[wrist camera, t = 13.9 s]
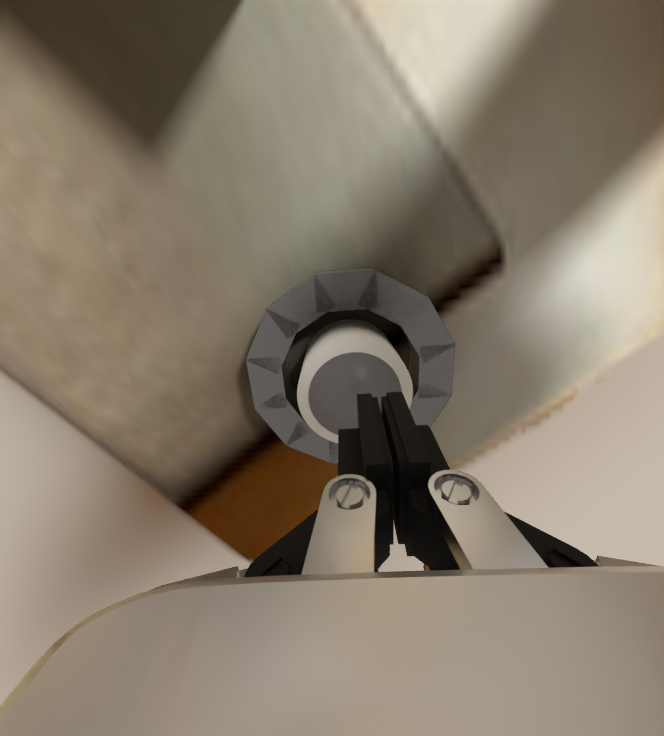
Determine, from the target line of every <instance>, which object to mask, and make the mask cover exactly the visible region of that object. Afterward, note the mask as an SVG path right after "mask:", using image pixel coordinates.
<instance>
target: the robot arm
mask: <svg viewBox="0 0 664 736" xmlns="http://www.w3.org/2000/svg"><path fill="white" fill-rule="evenodd" d="M357 411H358V428H352V429H338V476H337V477H336V478H334V479H332V480H331V481H330V482H329V483H328V484H327V485H326V486H325V488H324V490H323V494H322V498H321V502H320V505H319V509H318V510H317V511H315V512H314V513H313V514H312V515H310V516H309V517H308V518H307V519H305V520H304V521H303V522H301V523H300V524H299V525H298V526H296V527H295V528H294V529H293V530H291V531H290V532H289V533H288V534H286V535H285V536H284V537H283V538H281V539H280V540H279V541H278V542H276V543H275V544H274V545H273V546H271V547H270V548H269V549H267V550H266V551H265V552H264V553H262V554H261V555H260V556H259V557H257V558H256V559H255V560H254V561H253V562H252V563H251V565H250V566H249V568H248V569H244V570H240V571H239V570H238V567H237V566H236V567H232V568H229V569H225V570H221V571H217V572H213V573H209V574H205V575H202V576H197V577H194V578H190V579H185V580H182V581H178V582H174V583H170V584H166V585H162V586H160V587H157V588H155V589H152V590H150V591H147V592H144V593H140V594H138V595H135V596H133V597H130V598H128V599H125V600H123V601H120V602H118V603H115V604H113V605H111V606H109V607H107V608H105V609H103V610H101V611H99V612H97V613H95V614H94V615H92V616H90V617H88V618H87V619H85V620H83V621H82V622H80V623H79V624H77V625H76V626H75V627H73V628H72V629H71V630H69V631H68V632H67V633H66V634H64V635H63V636H62V637H61V638H60V639H59V640H58V641H57V642H55V643H54V645H52V646H51V647H50V648H49V649H48V651H47V652H46V653H45V654H44V655H43V656H42V657H41V658H40V659H39V660H38V661H37V662H36V663H35V664H34V666H33V667H32V668H31V669H30V670H29V671H28V672H27V673H26V675H25V676H24V677H23V678H22V680H21V681H20V682H19V683H18V685H17V686H16V687H15V688H14V689H13V691H12V692H11V693H10V694H9V696H8V697H7V698H6V699H5V700H4V702H3V703H2V704H1V705H0V736H664V566H655V565H650V564H644V563H638V562H632V561H626V560H620V559H614V558H608V557H602V556H597V558H596V561H594V560H592V559H591V558H589V557H588V556H587V555H586V554H584V553H583V552H581V551H579V550H578V549H576V548H574V547H572V546H570V545H569V544H566V543H565V542H563V541H561V540H559V539H557V538H555V537H553V536H551V535H549V534H547V533H545V532H543V531H541V530H539V529H537V528H535V527H533V526H531V525H529V524H527V523H525V522H524V521H522V520H520V519H518V518H515V517H514V516H512V515H510V514H508V513H506V512H504V511H503V510H502V509H501V507H500V506H499V505H498V504H497V502H496V501H495V500H494V499H493V497H492V496H491V495H490V494H489V493H488V491H487V490H486V489H485V488H484V486H483V485H482V484H481V483H480V482H479V481H478V480H477V479H476V478H474V477H472V476H471V475H469V474H467V473H464V472H461V471H456V470H450V468H449V466H448V464H447V462H446V460H445V458H444V456H443V454H442V452H441V450H440V448H439V446H438V444H437V441H436V439H435V437H434V435H433V433H432V431H431V429H430V427H429V426H428V425H416V424H415V422H414V419H413V417H412V415H411V412H410V410H409V407H408V405H407V402H406V400H405V398H404V395H403V393H402V392H387V395H386V396H382V397H381V410H380V406H379V402H378V398H377V397H372V394H371V393H368V394H357ZM393 519H394V524H395V529H396V535H397V539H398V543H399V544H405V547H406V552H407V556H415V557H416V558H418V559H419V560H420V561H422V562H423V563H424V571H404V572H403V571H402V572H378V568H379V567H380V566H381V565H382V563H383V562H384V561H385V560H386V559H387V558H388V557H389V555H390V544H393Z"/></svg>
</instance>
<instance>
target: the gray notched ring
mask: <svg viewBox="0 0 664 736" xmlns="http://www.w3.org/2000/svg"><path fill="white" fill-rule="evenodd" d="M360 309H368V310H370V311H372V312H374V313H376V314H378V315H380V316H382V317H384V318H386V319H388V320H390V321H392V322H394V323H396V324H397V325H398V327H399V328H400V330H401V331H402V333H403V335H404V336H405V338H406V340H407V341H408V343H409V374H410V377H411V380H412V385H413V397H412V403H411V406H410V409H409V410H410V412H411V415H412V417H413V419H414V422H415V424H416V425H428V426H429V427H431V425H432V424H433V422H434V421H435V419H436V418H437V416H438V415H439V413H440V412H441V410H442V409H443V408H444V406H445V405H446V403H447V402H448V400H449V399H450V397H451V396H452V382H453V367H454V352H455V343H454V342H453V340H452V338H451V337H450V335H449V333H448V331H447V329H446V328H445V326H444V324H443V322H442V320H441V319H440V317H439V315H438V313H437V312H436V310H435V308H434V306H433V304H432V303H431V301H430V299H429V297H428V296H426V295H424V294H422V293H420V292H418V291H416V290H414V289H412V288H410V287H408V286H406V285H404V284H402V283H400V282H398V281H396V280H394V279H393V278H391V277H389V276H387V275H385V274H383V273H381V272H379V271H377V270H376V269H373V268H370V267H369V268H358V269H345V270H332V271H320V272H315V273H314V274H313V275H311V276H310V277H308V278H307V279H306V280H304V281H303V282H302V283H300V284H299V285H297V286H296V287H295V288H293V289H292V290H290V291H289V292H288V293H286V294H285V295H283V296H282V297H281V298H279V299H278V300H277V301H275V302H273V303H272V304H271V305H270V306H269V307H268V308H267V309H266V311H265V313H264V316H263V318H262V321H261V323H260V326H259V328H258V331H257V333H256V336H255V338H254V341H253V343H252V345H251V348H250V350H249V353H248V355H247V358H246V364H247V369H248V375H249V380H250V386H251V391H252V397H253V402H254V409H255V410H256V411H257V412H258V413H259V415H260V416H261V417H262V418H263V419H264V420H265V422H266V423H267V424H268V425H269V426H270V427H271V428H272V430H273V431H274V432H275V433H276V434H277V435H278V437H279V438H280V439H281V440H282V441H283V442H284V443H285V445H286V446H288V447H291V448H293V449H296V450H298V451H301V452H303V453H306V454H308V455H311V456H313V457H316V458H319V459H321V460H324V461H326V462H329V463H331V464H334V463H338V443H335V442H332V441H329V440H327V439H325V438H323V437H321V436H320V435H318V434H317V433H316V432H315V431H313V430H312V429H311V428H310V427H309V426H308V424H307V423H306V422H305V420H304V418H303V417H302V415H301V412H300V410H299V407H298V402H297V390H296V388H295V387H294V386H293V385H292V383H291V379H290V371H289V364H288V356H287V352H288V350H289V348H290V346H291V344H292V341H293V339H294V337H295V335H296V333H297V332H299V331H300V330H302V329H303V328H305V327H306V326H308V325H309V324H311V323H312V322H314V321H315V320H316V319H318V318H319V317H321V316H322V315H324V314H325V313H327V312H333V311H346V310H360Z"/></svg>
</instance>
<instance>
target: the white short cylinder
mask: <svg viewBox="0 0 664 736" xmlns="http://www.w3.org/2000/svg"><path fill="white" fill-rule="evenodd" d="M387 392H402V393H403V395H404V398H405V400H406V402H407V405H408V407H409V409H410V406H411V403H412V397H413V385H412V380H411V377H410V374H409V371H408V370H407V368H406V366H405V364H404V363H403V361H402V360H401V358H400V357H399V355H398V354H397V352H396V351H395V349H394V347H393V346H392V344H391V343H390V341H389V340H388V338H387V337H386V336H385V334H384V333H383V332H382V331H381V330H379V329H378V328H377V327H375V326H374V325H372V324H370V323H367V322H365V321H361V320H354V319H346V320H340V321H336V322H333V323H331V324H329V325H327V326H325V327H324V328H322V329H321V330H320V331H319V332H318V333H317V334H316V335H315V336H314V337H313V338H312V340H311V341H310V343H309V345H308V348H307V350H306V354H305V358H304V362H303V366H302V370H301V374H300V378H299V382H298V386H297V402H298V407H299V410H300V412H301V415H302V417H303V418H304V420H305V422H306V423H307V424H308V426H309V427H310V428H311V429H312V430H313V431H315V432H316V433H317V434H318V435H320V436H321V437H323V438H325V439H327V440H329V441H332V442H335V443H338V429H352V428H358V411H357V394H368V393H371V394H372V397H377V398H378V402H379V406H380V410H381V397H382V396H386V395H387Z"/></svg>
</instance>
